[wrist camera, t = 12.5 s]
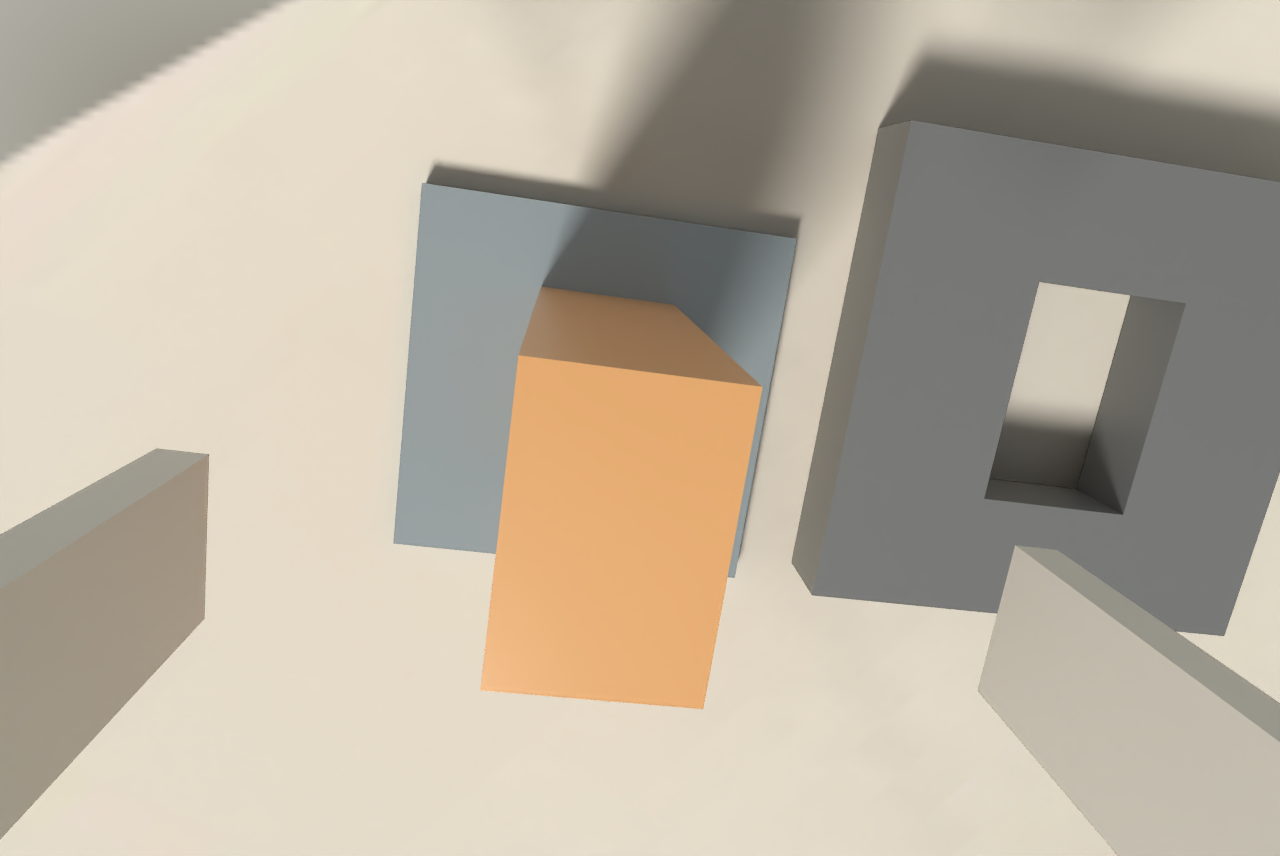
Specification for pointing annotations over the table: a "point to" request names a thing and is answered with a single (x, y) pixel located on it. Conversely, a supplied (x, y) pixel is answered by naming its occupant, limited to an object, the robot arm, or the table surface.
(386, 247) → the table surface
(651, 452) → the plug
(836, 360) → the gray slotted square plate
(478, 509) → the rubber mat
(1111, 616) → the robot arm
